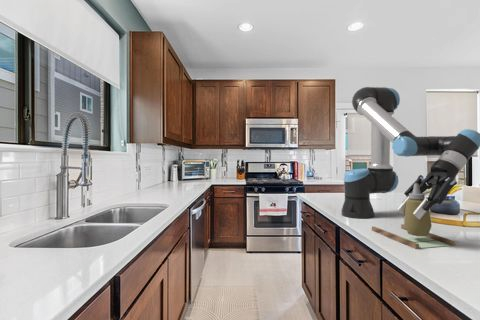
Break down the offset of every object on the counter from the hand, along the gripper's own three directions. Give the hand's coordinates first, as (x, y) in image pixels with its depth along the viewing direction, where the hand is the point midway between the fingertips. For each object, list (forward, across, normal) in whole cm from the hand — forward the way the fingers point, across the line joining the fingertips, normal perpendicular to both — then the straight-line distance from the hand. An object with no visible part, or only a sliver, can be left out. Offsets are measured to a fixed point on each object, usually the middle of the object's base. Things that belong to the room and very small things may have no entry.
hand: (408, 214), depth 91 cm
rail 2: (0, -4, +14) cm, 14 cm away
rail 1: (+9, -4, +4) cm, 11 cm away
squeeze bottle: (+3, 0, +8) cm, 8 cm away
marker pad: (+4, +2, +9) cm, 10 cm away
